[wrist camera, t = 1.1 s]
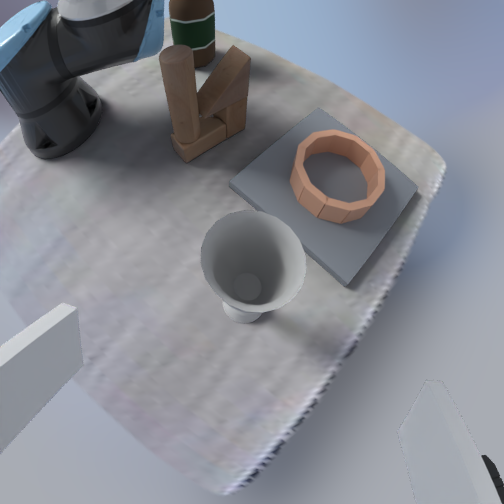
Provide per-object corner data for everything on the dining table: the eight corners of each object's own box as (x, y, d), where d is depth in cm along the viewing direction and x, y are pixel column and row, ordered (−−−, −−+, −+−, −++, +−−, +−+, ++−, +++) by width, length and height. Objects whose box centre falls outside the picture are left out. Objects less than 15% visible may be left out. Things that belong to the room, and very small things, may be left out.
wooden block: (246, 129, 47) (253, 32, 29) (186, 165, 44) (167, 68, 27) (231, 115, 47) (233, 20, 30) (172, 149, 45) (151, 53, 28)
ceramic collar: (272, 180, 42) (276, 164, 38) (324, 133, 45) (331, 117, 42) (342, 240, 40) (353, 228, 36) (387, 184, 43) (399, 170, 40)
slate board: (229, 186, 43) (229, 181, 42) (316, 113, 48) (318, 107, 47) (344, 286, 40) (348, 284, 38) (414, 191, 45) (418, 187, 44)
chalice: (202, 299, 38) (178, 253, 21) (243, 262, 40) (252, 191, 23) (244, 344, 37) (255, 335, 20) (285, 305, 39) (327, 264, 22)
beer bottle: (188, 75, 50) (177, -44, 27) (167, 57, 51) (152, -51, 29) (224, 59, 52) (225, -54, 29) (201, 42, 53) (197, -62, 31)
